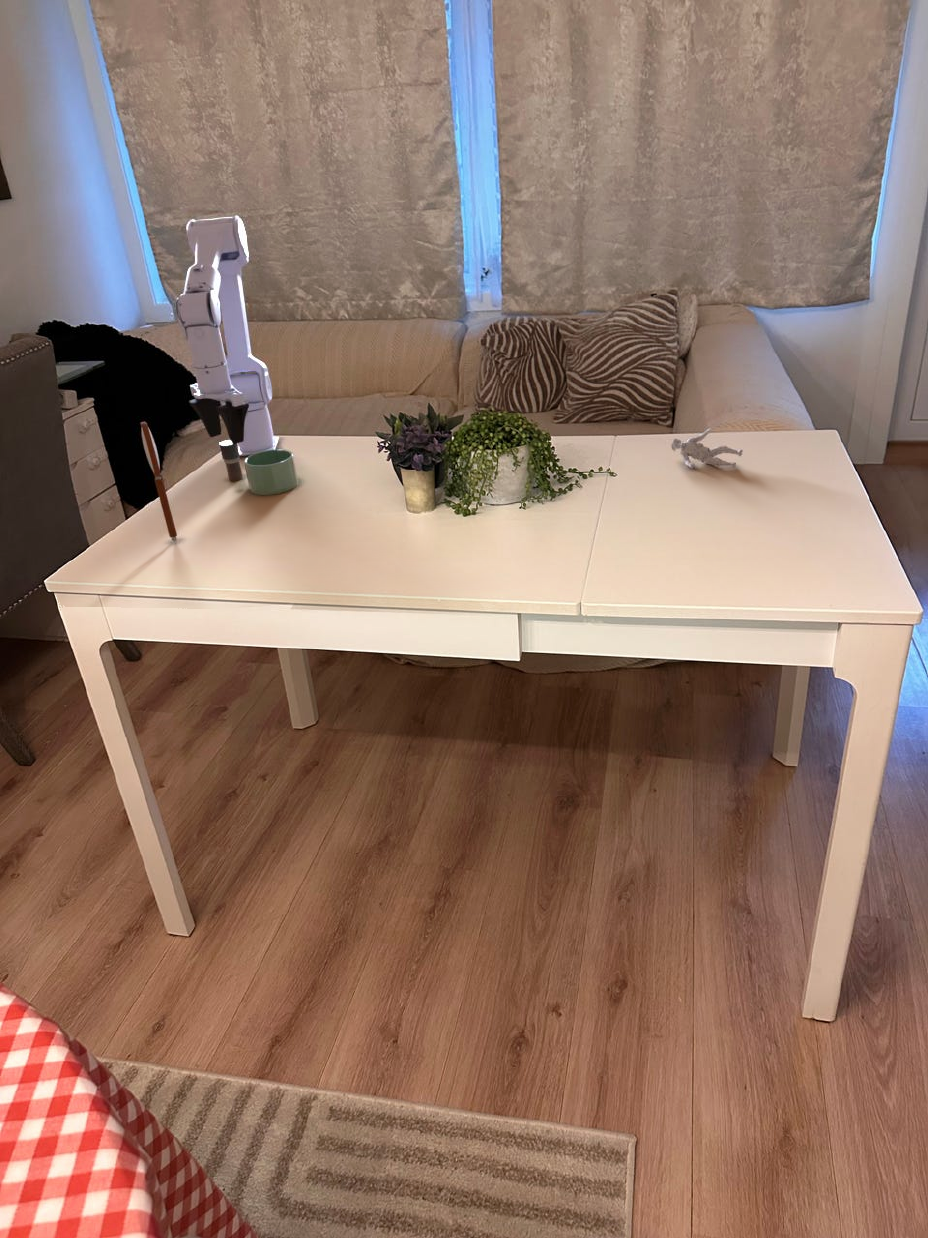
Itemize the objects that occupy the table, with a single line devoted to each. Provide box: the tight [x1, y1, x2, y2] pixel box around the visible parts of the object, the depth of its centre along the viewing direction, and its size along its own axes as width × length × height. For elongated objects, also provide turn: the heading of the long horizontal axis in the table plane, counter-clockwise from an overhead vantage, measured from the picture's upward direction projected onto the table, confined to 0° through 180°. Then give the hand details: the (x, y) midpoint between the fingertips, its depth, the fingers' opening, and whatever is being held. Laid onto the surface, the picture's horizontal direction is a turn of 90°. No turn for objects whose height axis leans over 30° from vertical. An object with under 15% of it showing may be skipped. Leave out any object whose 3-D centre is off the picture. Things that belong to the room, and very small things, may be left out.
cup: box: [243, 449, 299, 496], centre depth 168 cm, size 9×9×6 cm
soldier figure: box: [670, 428, 744, 469], centre depth 159 cm, size 8×5×12 cm
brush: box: [219, 439, 244, 482], centre depth 173 cm, size 3×3×7 cm
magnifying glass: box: [140, 421, 178, 542], centre depth 145 cm, size 9×2×20 cm, turn 22°
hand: (226, 438), depth 167 cm, fingers open, 7 cm apart
